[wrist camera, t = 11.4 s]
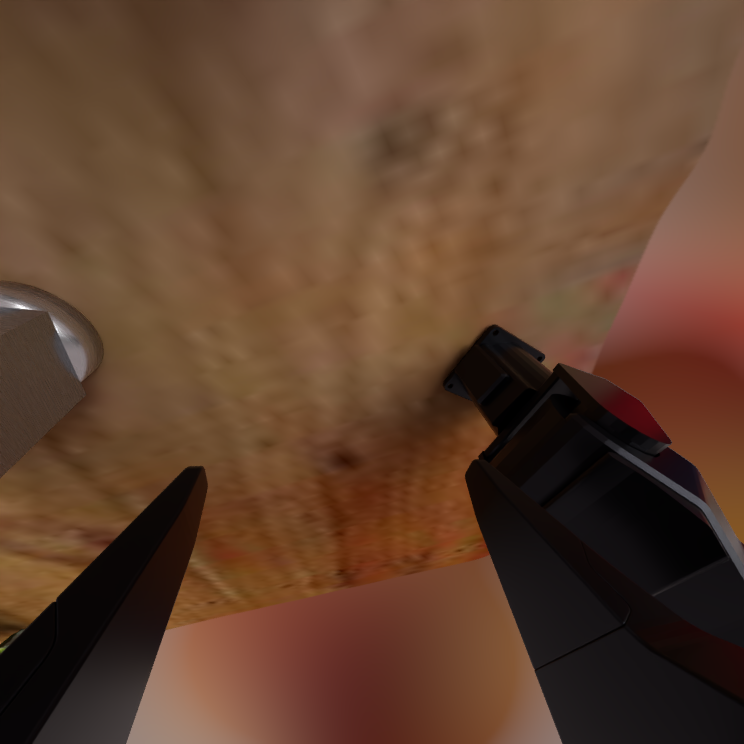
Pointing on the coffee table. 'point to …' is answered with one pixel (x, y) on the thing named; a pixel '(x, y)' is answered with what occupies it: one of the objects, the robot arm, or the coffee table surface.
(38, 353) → the grey round knob
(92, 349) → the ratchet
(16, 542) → the coffee table surface
